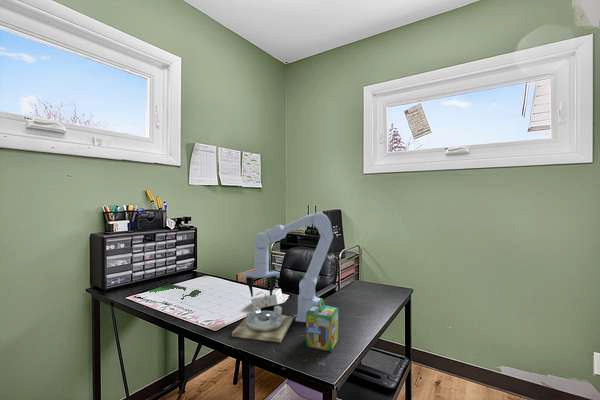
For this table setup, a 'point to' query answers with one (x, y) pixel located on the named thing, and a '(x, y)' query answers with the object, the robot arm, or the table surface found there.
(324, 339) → the chalk box
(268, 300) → the ink cartridge box
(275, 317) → the clear bowl
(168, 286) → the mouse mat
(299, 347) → the table surface
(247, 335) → the base plate
